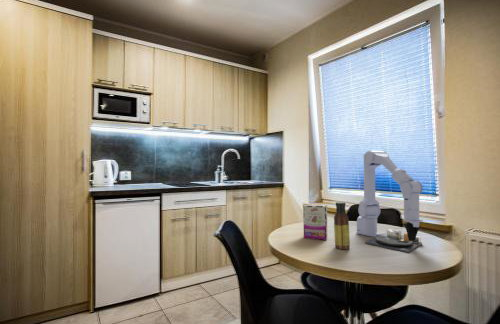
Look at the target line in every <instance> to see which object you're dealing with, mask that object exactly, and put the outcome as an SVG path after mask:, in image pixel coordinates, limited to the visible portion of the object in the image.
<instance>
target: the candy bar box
mask: <svg viewBox="0 0 500 324" xmlns="http://www.w3.org/2000/svg"><path fill="white" fill-rule="evenodd" d="M302 208H303V209H302V210H303V239H308V238H310V239H309V240H318V241H327V239H328V205H327V204H326V205H325V204H304V205H303V206H302Z"/></svg>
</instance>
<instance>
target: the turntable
mask: <svg viewBox="0 0 500 324" xmlns="http://www.w3.org/2000/svg"><path fill="white" fill-rule="evenodd" d="M401 235H402V234H401ZM375 238H376V241H377V242H379V243H382V244H386V245H391V246H411V245H412V244H413V241H409V239H408V235H407V232H405V233H403V235H402V239H390V238H387V232H386V233H380V234H377V235H376V236H375Z"/></svg>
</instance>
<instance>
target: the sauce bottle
mask: <svg viewBox="0 0 500 324" xmlns="http://www.w3.org/2000/svg"><path fill="white" fill-rule="evenodd" d="M335 207H336V212H335V214H334V216H333V226H334V227H333V229H334V230H333V231H334V244H335V245H334V246H335V248H336V249H338V250H349V249H350V247H351V239H350V224H349V223H350V222H349V216H348V215H347V212H346V202H344V201H336V202H335Z"/></svg>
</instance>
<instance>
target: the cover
mask: <svg viewBox="0 0 500 324" xmlns="http://www.w3.org/2000/svg"><path fill="white" fill-rule="evenodd" d="M386 234H387V238H390V239H402V230H398V229H392V228H391V229H386Z"/></svg>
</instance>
